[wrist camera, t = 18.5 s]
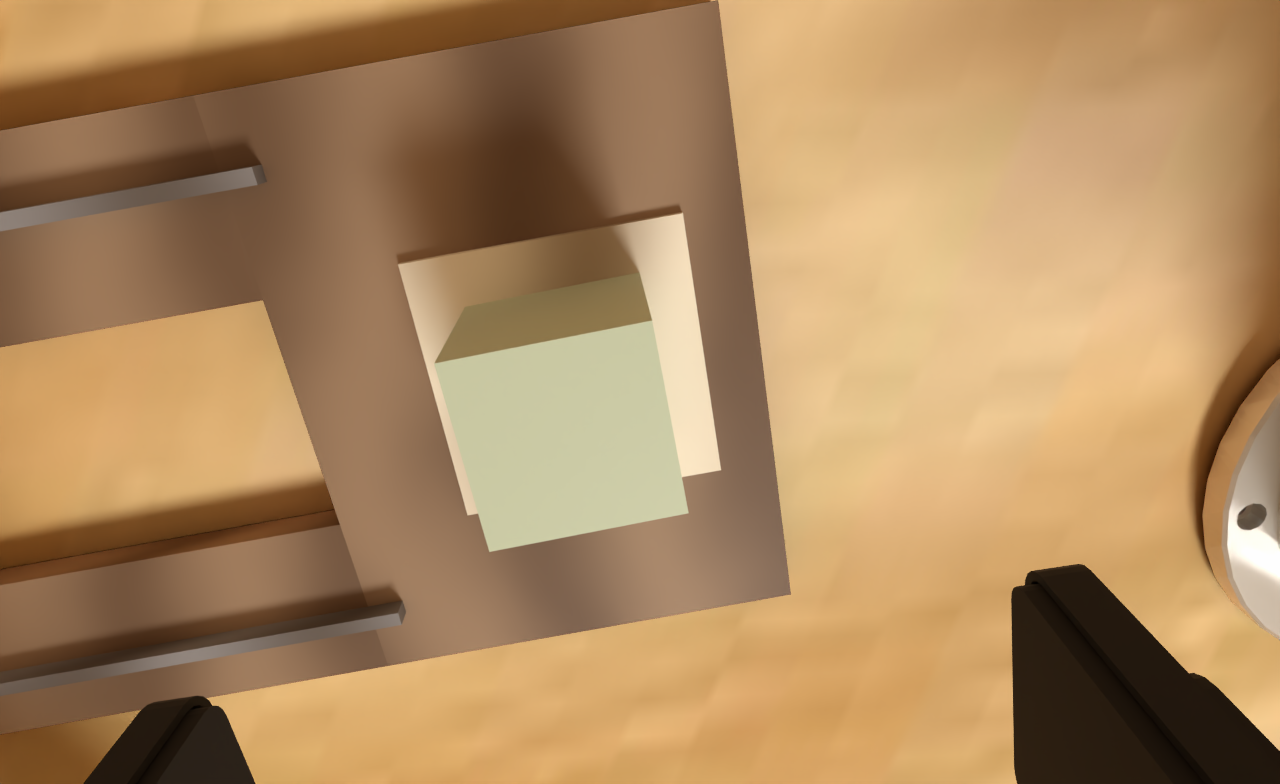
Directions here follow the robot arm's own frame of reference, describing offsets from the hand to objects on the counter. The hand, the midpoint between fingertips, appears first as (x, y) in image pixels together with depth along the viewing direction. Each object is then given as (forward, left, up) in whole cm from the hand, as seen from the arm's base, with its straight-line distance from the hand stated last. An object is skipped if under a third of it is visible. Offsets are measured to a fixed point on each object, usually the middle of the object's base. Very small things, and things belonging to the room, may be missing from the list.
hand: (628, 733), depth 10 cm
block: (+1, 0, -13) cm, 12 cm away
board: (+10, 0, -14) cm, 17 cm away
